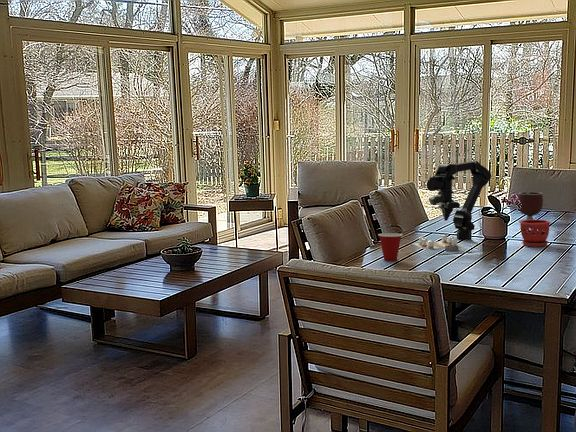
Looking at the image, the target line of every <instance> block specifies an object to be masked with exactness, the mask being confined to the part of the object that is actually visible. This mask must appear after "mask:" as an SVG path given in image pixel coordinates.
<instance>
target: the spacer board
mask: <svg viewBox="0 0 576 432" xmlns="http://www.w3.org/2000/svg"><path fill="white" fill-rule="evenodd" d="M412 245H414V246H416V247H419V248H421V249H423V250H432V249H435V250H436V249H445V246H448V245H450V244H449V240H447V243H442V240H441V241H434V248H432V249H430V248H428V241H427V246H426V247H423V246H422V244H419V242H416V243H412ZM457 246H458V247H459V248H460V247H463V245H462V244H459V243H457Z"/></svg>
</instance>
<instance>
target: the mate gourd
mask: <svg viewBox="0 0 576 432" xmlns="http://www.w3.org/2000/svg"><path fill="white" fill-rule="evenodd" d="M518 198H519V200H520V202H521V204H522V209H518V211H519V212H520V213H521V214H522V215H525V216H526V219H519V220H518V223H520V222H521V221H524V220H535V219H534V217H533V216H535V215H538V214H539V213H540V212H541V211H542V210H543V206H544V205H543V204H544V199H543V192H538V191H529V190H528V189H525V191H521V192H518V195H517V199H518Z"/></svg>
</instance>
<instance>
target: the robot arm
mask: <svg viewBox="0 0 576 432" xmlns="http://www.w3.org/2000/svg"><path fill="white" fill-rule="evenodd" d="M465 171H470V174H471V175H472V184H471V188H470V190H469V192H468V194H467V197H466V199H465V202H464V203H463V205H462V207H461V203H459V201H454V199H453V194H455V191H453V180H454V181H455V180H456V177H455V176H454V175H456V174H458V173H459V172H465ZM491 179H492V173H491V171H490V170H489V169H488V168H486V167H485V166H484V165H482V164H481V163H480V162H479V161H477V160H469V161H465V162H460V163H454V164H453V163H440V164H439V166H438V168H437V169H436V172H435V174H434V175H433V176H429V179H428V180H427V182H426V188H427V190H428V191H430V192H433V191H437V194H436V195H433V196H430V197H429V198H428V202H429V204H430V205H431V206H437V207H438V209H440V210H441V213H442V216H443V219H444V221H448V219H449V218H450V215H452V212H453V210H454V209H457V210H455V212H454V214H453V216H452V217H453V219H452V222H453V225H454V229H456V230H457V231H456V239H457V241H470V242H474V240H473V238H472V237H473V236H472V235H473V233H472V231H474V230H475V224H474V223H473V222H472V218H473V215H472V211H473V210H474V207H475V205H476V203H477V201H478V198H479V196H480V194H481V191H482V189H483V188H484V187H485V186H487V184H488V183H489V181H490V180H491ZM460 208H461V209H460ZM459 209H460V210H459Z"/></svg>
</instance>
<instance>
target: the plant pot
mask: <svg viewBox="0 0 576 432" xmlns="http://www.w3.org/2000/svg"><path fill="white" fill-rule="evenodd" d="M519 224H520V233H521V237H522V244H523V245H524V246H527V247H534V248H536V247H537V248H541V247H545V246H547V245H548V244H549V240H547V239H548V237H549V234H550V221H549V220H546V219H534V220H524V221H521V222H519Z"/></svg>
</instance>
